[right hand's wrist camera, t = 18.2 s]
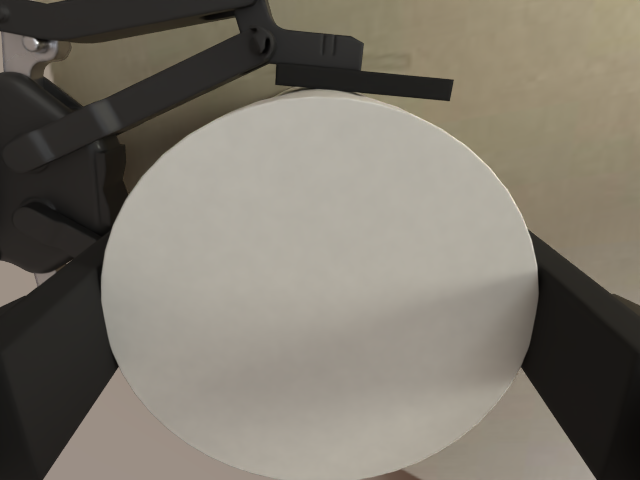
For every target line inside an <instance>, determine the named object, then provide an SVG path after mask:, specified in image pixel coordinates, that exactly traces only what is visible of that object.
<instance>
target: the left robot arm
mask: <svg viewBox="0 0 640 480" xmlns="http://www.w3.org/2000/svg"><path fill="white" fill-rule="evenodd" d="M234 17H236V20H237V24H238V27H239V30H240V34H238V35H236V36H233V37H231V38H229V39H227V40H225V41H223V42H221V43H219V44H217V45H215V46H213V47H211V48H209V49H207V50H205V51H202V52H200V53H198V54H196V55H194V56H192V57H190V58H188V59H186V60H184V61H182V62H180V63H178V64H176V65H173V66H171V67H169V68H167V69H165V70H163V71H161V72H159V73H157V74H155V75H153V76H151V77H149V78H147V79H145V80H142V81H140V82H138V83H136V84H134V85H132V86H130V87H128V88H126V89H124V90H122V91H120V92H118V93H116V94H113V95H111V96H109V97H107V98H105V99H102V100H100V101H97V102H94V103H91V104H89V105H87V106H84V107H83V106H82V105H80V104H79V103H78V102H77V101H75V100H74V99H73V98H71V97H70V96H69V95H68V94H66V93H65V92H64V91H62V90H61V89H60V88H59V87H57V86H56V85H55V84H53V83H52V82H51V81H50V80H48V79H47V78H45V77H44V76H43V74H44V69H45V67H46V66H47V65H48V64H49V63H51V62H57V61H62V60H65V59H66V58H67V57H68V55H69V53H70V51H71V43H70V42H74V43H99V42H106V41H111V40H116V39H122V38H127V37H132V36H138V35H143V34H148V33H154V32H159V31H165V30H170V29H175V28H181V27H186V26H191V25H197V24H202V23H207V22H213V21H218V20H224V19H229V18H234ZM0 31H1V34H2V50H3V66H4V72H2V73H0V260H1V261H6V262H9V263H12V264H14V265H16V266H19V267H20V268H22V269H24V270H26V271H28V272H31V273H34V274H35V279H36V282H37V286H39V285H41V284H42V283H43V282H45V281H46V280H47V279H48V278H50V277H51V276H52V275H54V274H55V273H56V272H57V271H59V270H60V269H61V268H63V267H64V266H65V265H66V263H68V262H69V261H71V260H73V259H74V258H75V257H77V256H78V255H79V254H81V253H82V252H83V251H84V250H86V249H87V248H88V247H90V246H91V245H92V244H93V243H95V242H96V241H97V240H99V239H100V238H101V237H102V236H104V235H105V234H106V233H108V232H109V231H110V230H111V229H112V227H113V224H114V222H115V220H116V218H117V216H118V214H119V212H120V210H121V208H122V206H123V204H124V202H125V200H126V198H127V197H128V194H127V191H126V188H125V185H124V182H123V174H124V169H125V165H126V153H125V145H123V144H120V143H119V141H118V139H117V137H116V136H117V135H119V134H121V133H123V132H125V131H128V130H130V129H132V128H134V127H136V126H138V125H140V124H142V123H144V122H145V121H148V120H150V119H152V118H154V117H156V116H158V115H160V114H162V113H165V112H167V111H169V110H171V109H173V108H175V107H177V106H180V105H182V104H184V103H186V102H188V101H190V100H192V99H195V98H197V97H199V96H201V95H203V94H205V93H207V92H209V91H212V90H214V89H216V88H218V87H220V86H222V85H224V84H227V83H229V82H231V81H233V80H235V79H237V78H239V77H242V76H244V75H246V74H248V73H250V72H252V71H254V70H256V69H259V68H261V67H263V66H265V65H267V64H276V82H275V85H283V86H294V87H305V88H315V89H326V90H337V91H347V92H358V93H369V94H379V95H390V96H401V97H412V98H422V99H433V100H444V101H450V97H451V92H452V86H453V81H454V80H451V79H440V78H430V77H419V76H409V75H398V74H388V73H377V72H367V71H361V64H362V55H363V46H364V43H362V42H360V41H359V40H357V39H355V38H353V37H351V36H343V35H333V34H323V33H312V32H302V31H292V30H285V29H282V28H280V27H278V26H277V25H276V23H275V22H274V20H273V17H272V14H271V10H270V7H269V3H268V0H65V1H60V2H54V3H49V4H45V3H40V2H35V1H30V0H0Z"/></svg>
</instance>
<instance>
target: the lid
mask: <svg viewBox="0 0 640 480" xmlns="http://www.w3.org/2000/svg"><path fill="white" fill-rule="evenodd" d="M538 297H539V287H538V270H537V263H536V258H535V253H534V249H533V244H532V240H531V237H530V235H529V232H528V229H527V227H526V224H525V221H524V219H523V216H522V214H521V212H520V211H519V209H518V207H517V205H516V204H515V202H514V200H513V198H512V197H511V195H510V193H509V191H508V190H507V188H506V187H505V186H504V185H503V183H502V182H501V181H500V180H499V178H498V177H497V176H496V175H495V173H494V172H493V171H492V170H491V168H490V167H489V166H488V165H487V164H486V163H485V162H484V161H482V160H481V159H480V158H479V157H478V156H477V155H476V154H475V153H474V152H473V151H472V150H471V149H470V148H468V147H467V146H466V145H465V144H463V143H462V142H460V141H459V140H457V139H456V138H454V137H453V136H451V135H450V134H449V133H447V132H446V131H444V130H443V129H441V128H439V127H437V126H435V125H433V124H431V123H429V122H427V121H425V120H423V119H421V118H419V117H417V116H415V115H413V114H411V113H409V112H407V111H405V110H403V109H401V108H399V107H397V106H394V105H391V104H387V103H384V102H381V101H378V100H375V99H372V98H368V97H362V96H357V95H351V94H346V93H332V92H306V93H296V94H285V95H281V96H277V97H273V98H269V99H264V100H260V101H257V102H254V103H252V104H249V105H247V106H244V107H241V108H239V109H236V110H234V111H231V112H229V113H227V114H225V115H223V116H221V117H219V118H217V119H215V120H213V121H212V122H210V123H208V124H206V125H205V126H203V127H201V128H199V129H198V130H196V131H194V132H192V133H190V134H189V135H187V136H186V137H185V138H183V139H182V140H181V141H179V142H178V143H177V144H176V145H174V146H173V147H172V148H170V149H169V150H168V151H167V152H165V153H164V154H163V155H162V156H161V157H160V158H159V159H158V160H157V161H156V162H155V163H154V164H153V165H152V166H151V167H150V168H149V169H148V170H147V171H146V173H145V174H144V175H143V176H142V177H141V178H140V180H139V181H138V183H137V184H136V186H135V187H134V188H133V190H132V191H131V193H130V194H129V195H128V197H127V198H126V200H125V202H124V204H123V206H122V208H121V210H120V212H119V214H118V216H117V218H116V220H115V222H114V224H113V227H112V230H111V233H110V236H109V240H108V243H107V246H106V249H105V254H104V260H103V267H102V274H101V303H102V308H103V313H104V319H105V324H106V329H107V334H108V338H109V343H110V347H111V350H112V353H113V355H114V357H115V359H116V361H117V363H118V366H119V368H120V370H121V372H122V374H123V376H124V377H125V379H126V380H127V382H128V384H129V385H130V387H131V388H132V390H133V391H134V393H135V394H136V396H137V397H138V398H139V399H140V401H141V402H142V403H143V404H144V405H145V407H146V408H147V409H148V410H149V411H150V413H151V414H152V415H154V416H155V417H156V418H157V419H158V420H159V421H160V422H161V423H162V424H163V425H164V426H165V427H166V428H167V429H168V430H170V431H171V432H172V433H174V434H175V435H176V436H178V437H179V438H180V439H182V440H183V441H184V442H186V443H187V444H189V445H190V446H192V447H194V448H195V449H197V450H199V451H200V452H202V453H204V454H206V455H207V456H209V457H211V458H213V459H216V460H218V461H220V462H222V463H225V464H227V465H229V466H231V467H234V468H237V469H240V470H243V471H246V472H249V473H252V474H256V475H260V476H265V477H269V478H274V479H279V480H359V479H365V478H371V477H375V476H379V475H383V474H386V473H390V472H394V471H397V470H399V469H402V468H405V467H407V466H410V465H413V464H415V463H418V462H420V461H422V460H424V459H426V458H428V457H430V456H432V455H434V454H436V453H438V452H440V451H441V450H443V449H444V448H446V447H447V446H449V445H450V444H452V443H453V442H455V441H456V440H458V439H460V438H461V437H462V436H463V435H464V434H466V433H467V432H468V431H469V430H471V429H472V428H473V427H474V426H475V425H477V424H478V423H479V422H480V421H481V420H482V419H483V418H484V417H485V416H486V415H487V414H488V413H489V411H490V410H491V409H492V408H493V407H494V406H495V405H496V404H497V402H498V401H499V400H500V398H501V397H502V396H503V394H504V393H505V392H506V390H507V389H508V388H509V386H510V385H511V383H512V381H513V379H514V378H515V376H516V374H517V372H518V371H519V369H520V367H521V365H522V363H523V360H524V358H525V355H526V353H527V350H528V348H529V345H530V340H531V335H532V331H533V325H534V320H535V315H536V310H537V304H538Z"/></svg>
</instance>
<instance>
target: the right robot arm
mask: <svg viewBox="0 0 640 480" xmlns="http://www.w3.org/2000/svg"><path fill="white" fill-rule="evenodd" d="M111 230H112V229H111ZM111 230H110V231H109V232H108V233H106V234H105V235H104V236H102V237H101V238H100V239H99V240H97V241H96V242H95V243H93V244H92V245H91V246H90V247H88V248H87V249H86V250H84V251H83V252H82V253H81V254H79V255H78V256H77V257H75V258H74V259H73V260H72V261H70V262H69V263H68V264H66V265H65V266H64V267H63V268H61V269H60V270H59V271H57V272H56V273H55V274H54V275H52V276H51V277H50V278H48V279H47V280H46V281H45V282H43V283H42V284H41V285H39V286H38V287H37V288H36V289H34V290H33V291H32V292H30V293H29V294H28V295H27V296H23V297H21V298H19V299H17V300H15V301H12V302H10V303H8V304H6V305H4V306H2V307H0V480H43V479H44V477H45V476H46V474H47V473H48V471H49V470H50V468H51V467H52V465H53V464H54V462H55V461H56V459H57V458H58V456H59V455H60V453H61V452H62V450H63V449H64V447H65V446H66V444H67V443H68V441H69V440H70V438H71V437H72V436H73V434H74V433H75V431H76V430H77V428H78V426H79V425H80V424H81V422H82V421H83V419H84V418H85V416H86V415H87V413H88V412H89V410H90V409H91V407H92V406H93V404H94V403H95V401H96V400H97V398H98V397H99V395H100V394H101V392H102V391H103V389H104V388H105V386H106V385H107V383H108V382H109V380H110V379H111V377H112V376H113V374H114V373H115V371H116V370H117V368H118V367H119V366H118V363H117V361H116V359H115V357H114V355H113V353H112V350H111V347H110V343H109V338H108V334H107V329H106V324H105V319H104V313H103V308H102V303H101V274H102V267H103V260H104V254H105V249H106V246H107V243H108V240H109V236H110V233H111ZM528 232H529V235H530V237H531V240H532V244H533V249H534V253H535V258H536V263H537V270H538V287H539V297H538V304H537V310H536V315H535V320H534V325H533V331H532V335H531V340H530V345H529V348H528V350H527V353H526V355H525V358H524V360H523V363H522V365H521V368H522V369H523V371H524V372H525V374H526V375H527V377H528V378H529V380H530V381H531V383H532V384H533V386H534V387H535V389H536V390H537V392H538V393H539V395H540V396H541V398H542V399H543V400H544V402H545V403H546V405H547V406H548V408H549V409H550V411H551V412H552V414H553V415H554V417H555V418H556V420H557V421H558V423H559V424H560V426H561V427H562V429H563V430H564V432H565V433H566V435H567V436H568V438H569V439H570V441H571V442H572V444H573V445H574V447H575V448H576V450H577V451H578V453H579V454H580V456H581V457H582V459H583V460H584V462H585V463H586V465H587V466H588V468H589V469H590V471H591V472H592V473H593V475H594V476H595V478H596V479H597V480H640V306H639V305H637V304H635V303H633V302H631V301H629V300H627V299H625V298H622V297H620V296H618V295H616V294H610V293H609V292H608V291H607V290H605V289H604V288H603V287H601V286H600V285H599V284H598V283H596V282H595V281H594V280H592V279H591V278H590V277H589V276H587V275H586V274H585V273H583V272H582V271H581V270H580V269H578V268H577V267H576V266H574V265H573V264H572V263H571V262H569V261H568V260H567V259H565V258H564V257H563V256H562V255H560V254H559V253H558V252H556V251H555V250H554V249H553V248H551V247H550V246H549V245H547V244H546V243H545V242H544V241H542V240H541V239H540V238H538V237H537V236H536V235H535V234H533V233H532V232H531V231H529V230H528Z"/></svg>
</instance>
